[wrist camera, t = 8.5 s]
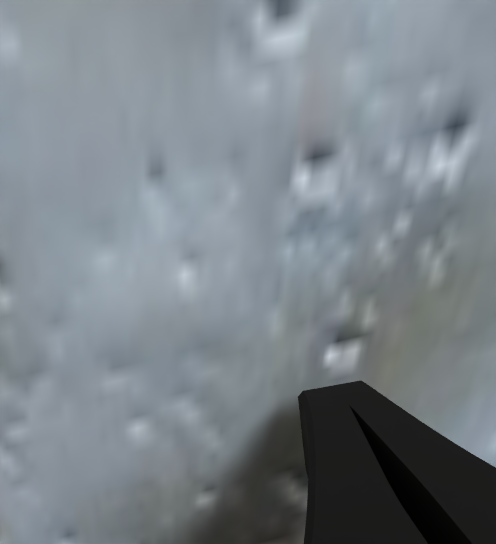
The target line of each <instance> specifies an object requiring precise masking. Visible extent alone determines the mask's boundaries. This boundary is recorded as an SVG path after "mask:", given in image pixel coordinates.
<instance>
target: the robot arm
mask: <svg viewBox="0 0 496 544" xmlns="http://www.w3.org/2000/svg"><path fill="white" fill-rule="evenodd" d="M298 401H299V410H300V420H301V429H302V438H303V447H304V456H305V465H306V471H307V475H308V479H309V480H308V499H307V516H306V527H305V537H304V544H496V468H495V467H494V466H492V465H490V464H488V463H487V462H485V461H483V460H482V459H480V458H478V457H476V456H475V455H473V454H471V453H470V452H468V451H466V450H465V449H463V448H462V447H460V446H458V445H457V444H455V443H453V442H452V441H450V440H449V439H447V438H446V437H444V436H442V435H441V434H439V433H438V432H436V431H435V430H433V429H432V428H430V427H429V426H427V425H425V424H424V423H422V422H421V421H419V420H418V419H417V418H415V417H414V416H412V415H411V414H409V413H408V412H406V411H405V410H403V409H402V408H400V407H399V406H397V405H396V404H395V403H393V402H392V401H390V400H389V399H387V398H386V397H385V396H383V395H382V394H380V393H379V392H377V391H376V390H375V389H373V388H372V387H370V386H369V385H367V384H366V383H364V382H363V381H356V382H350V383H345V384H339V385H334V386H328V387H323V388H317V389H312V390H306V391H303V392H302V393H301V394H300V395H299V396H298Z"/></svg>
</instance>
